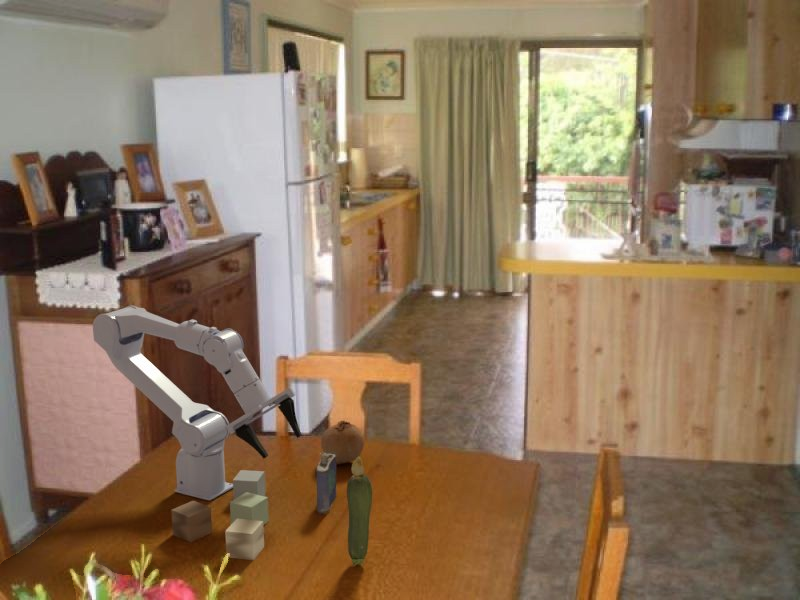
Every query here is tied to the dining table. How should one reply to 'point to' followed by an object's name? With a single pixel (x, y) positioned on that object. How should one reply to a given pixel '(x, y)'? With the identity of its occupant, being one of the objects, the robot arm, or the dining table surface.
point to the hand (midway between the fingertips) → (282, 446)
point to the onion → (343, 442)
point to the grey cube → (249, 483)
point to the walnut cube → (191, 521)
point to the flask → (326, 482)
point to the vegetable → (358, 512)
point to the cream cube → (245, 539)
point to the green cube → (250, 508)
